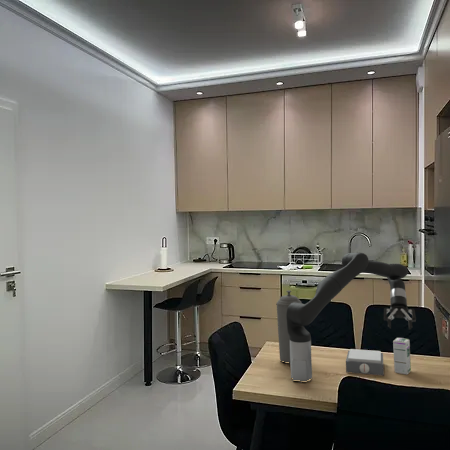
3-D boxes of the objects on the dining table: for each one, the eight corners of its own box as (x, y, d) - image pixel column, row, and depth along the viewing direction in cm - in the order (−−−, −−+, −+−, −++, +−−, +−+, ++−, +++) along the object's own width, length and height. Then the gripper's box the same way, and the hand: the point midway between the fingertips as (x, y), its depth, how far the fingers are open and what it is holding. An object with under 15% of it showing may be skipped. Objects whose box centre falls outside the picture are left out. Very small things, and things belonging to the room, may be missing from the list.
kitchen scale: (383, 376, 185) (383, 362, 185) (345, 372, 190) (345, 359, 190) (383, 363, 201) (382, 350, 201) (348, 360, 206) (348, 348, 206)
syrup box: (407, 374, 185) (406, 342, 185) (393, 372, 189) (392, 340, 189) (411, 371, 190) (410, 339, 190) (397, 368, 194) (396, 337, 193)
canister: (273, 359, 212) (271, 290, 212) (294, 355, 217) (292, 287, 217) (287, 367, 200) (284, 293, 200) (309, 362, 206) (306, 291, 205)
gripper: (383, 294, 209) (383, 323, 198) (414, 295, 204) (417, 324, 193) (383, 303, 214) (384, 331, 203) (413, 304, 209) (416, 333, 198)
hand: (400, 328), depth 198 cm, fingers open, 8 cm apart
